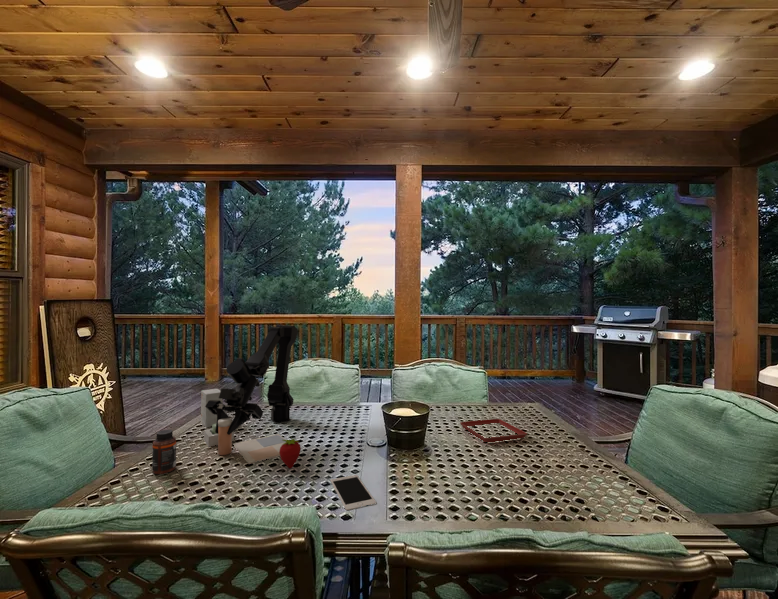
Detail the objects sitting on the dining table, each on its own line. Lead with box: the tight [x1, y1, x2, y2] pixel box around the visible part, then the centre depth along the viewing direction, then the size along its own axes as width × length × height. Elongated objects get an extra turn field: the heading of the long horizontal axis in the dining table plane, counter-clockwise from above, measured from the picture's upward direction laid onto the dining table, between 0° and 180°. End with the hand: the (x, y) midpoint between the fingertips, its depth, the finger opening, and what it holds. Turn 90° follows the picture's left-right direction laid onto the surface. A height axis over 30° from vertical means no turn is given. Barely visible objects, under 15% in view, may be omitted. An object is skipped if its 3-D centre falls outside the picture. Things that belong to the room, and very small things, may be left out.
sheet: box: [232, 433, 286, 465], centre depth 124 cm, size 16×18×1 cm
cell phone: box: [330, 474, 377, 511], centre depth 97 cm, size 8×16×1 cm, turn 23°
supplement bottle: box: [151, 429, 177, 475], centre depth 107 cm, size 6×6×11 cm
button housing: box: [203, 428, 235, 448], centre depth 130 cm, size 8×8×4 cm
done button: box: [211, 423, 218, 434], centre depth 130 cm, size 4×4×4 cm
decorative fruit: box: [279, 434, 302, 469], centre depth 110 cm, size 6×8×10 cm
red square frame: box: [459, 418, 528, 443], centre depth 139 cm, size 18×18×3 cm
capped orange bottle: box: [217, 417, 233, 456], centre depth 119 cm, size 4×4×10 cm
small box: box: [200, 388, 224, 428], centre depth 148 cm, size 8×6×13 cm
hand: (222, 433), depth 118 cm, fingers closed on capped orange bottle, 4 cm apart
